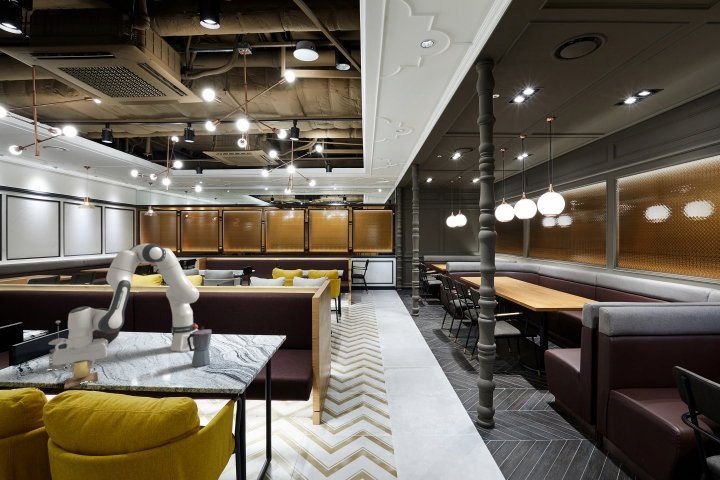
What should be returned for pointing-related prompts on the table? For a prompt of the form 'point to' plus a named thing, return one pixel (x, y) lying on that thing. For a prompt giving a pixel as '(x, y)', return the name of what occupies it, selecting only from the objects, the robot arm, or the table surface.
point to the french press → (54, 342)
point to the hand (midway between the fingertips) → (81, 369)
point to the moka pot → (200, 346)
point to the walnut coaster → (80, 380)
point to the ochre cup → (81, 369)
